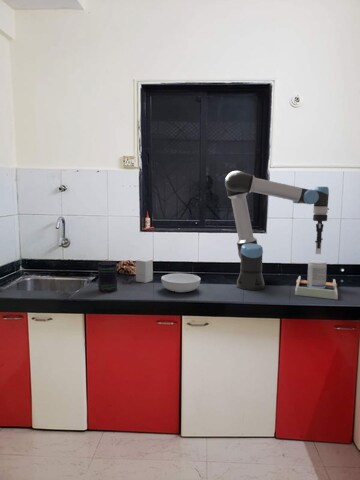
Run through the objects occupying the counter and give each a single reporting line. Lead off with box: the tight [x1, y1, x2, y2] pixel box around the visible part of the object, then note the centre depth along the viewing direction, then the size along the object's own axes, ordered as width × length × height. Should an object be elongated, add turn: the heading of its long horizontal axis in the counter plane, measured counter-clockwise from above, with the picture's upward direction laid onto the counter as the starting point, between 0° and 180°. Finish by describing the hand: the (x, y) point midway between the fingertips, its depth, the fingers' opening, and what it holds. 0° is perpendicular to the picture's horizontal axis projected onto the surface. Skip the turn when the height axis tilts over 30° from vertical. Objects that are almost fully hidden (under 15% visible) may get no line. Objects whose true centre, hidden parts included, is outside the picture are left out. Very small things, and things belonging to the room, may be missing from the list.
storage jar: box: [97, 260, 118, 294], centre depth 185 cm, size 10×10×15 cm
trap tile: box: [295, 279, 338, 287], centre depth 205 cm, size 22×7×1 cm, turn 68°
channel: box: [294, 275, 339, 300], centre depth 193 cm, size 20×34×4 cm, turn 158°
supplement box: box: [135, 258, 154, 284], centre depth 206 cm, size 7×7×13 cm
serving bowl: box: [160, 272, 201, 293], centre depth 187 cm, size 21×21×7 cm
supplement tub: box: [306, 259, 327, 289], centre depth 195 cm, size 10×10×15 cm
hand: (318, 252), depth 203 cm, fingers open, 10 cm apart
